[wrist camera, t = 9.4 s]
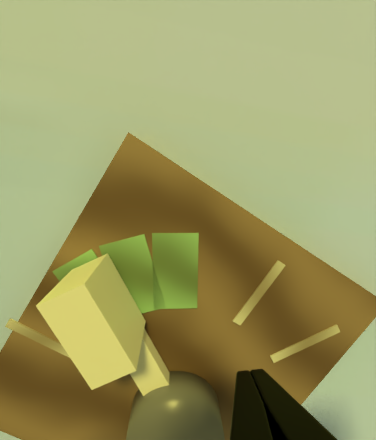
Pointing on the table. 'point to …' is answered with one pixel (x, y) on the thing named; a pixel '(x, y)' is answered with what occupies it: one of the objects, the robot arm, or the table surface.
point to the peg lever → (127, 355)
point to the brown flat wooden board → (180, 302)
